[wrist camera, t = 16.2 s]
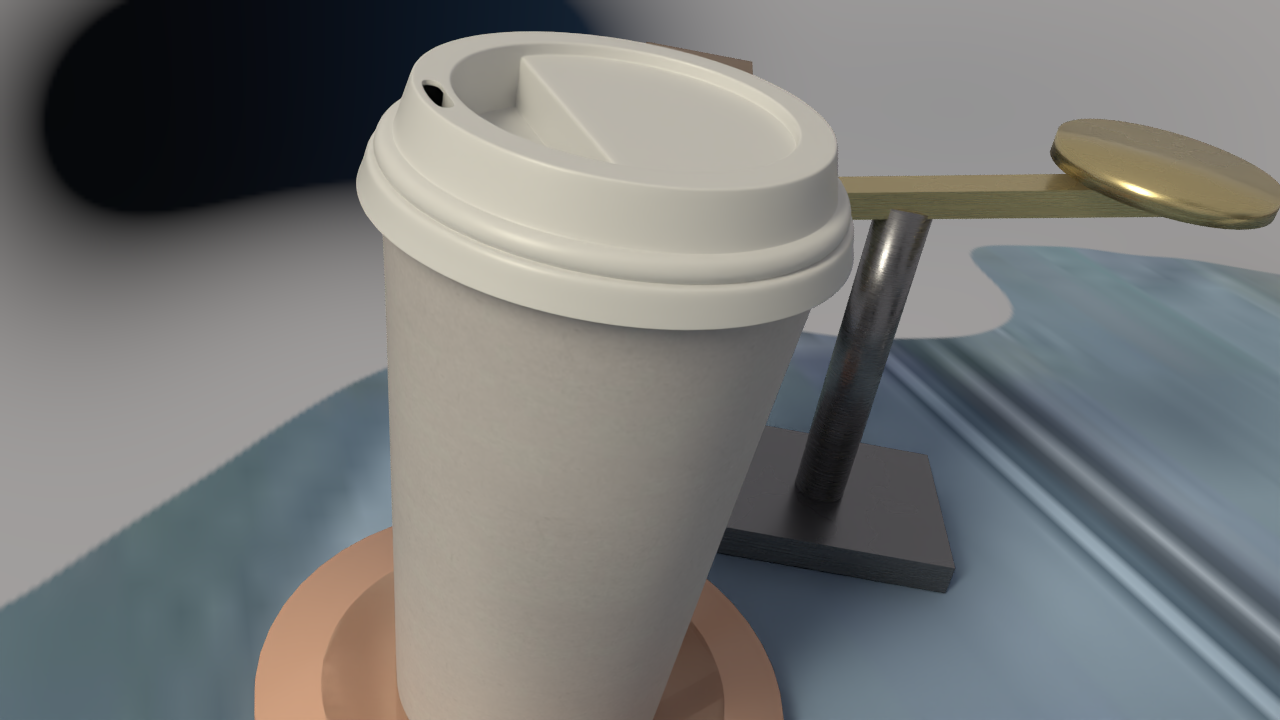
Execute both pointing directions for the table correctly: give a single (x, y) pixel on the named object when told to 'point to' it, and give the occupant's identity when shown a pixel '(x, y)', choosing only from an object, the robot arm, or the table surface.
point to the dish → (366, 651)
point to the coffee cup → (581, 353)
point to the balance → (901, 217)
